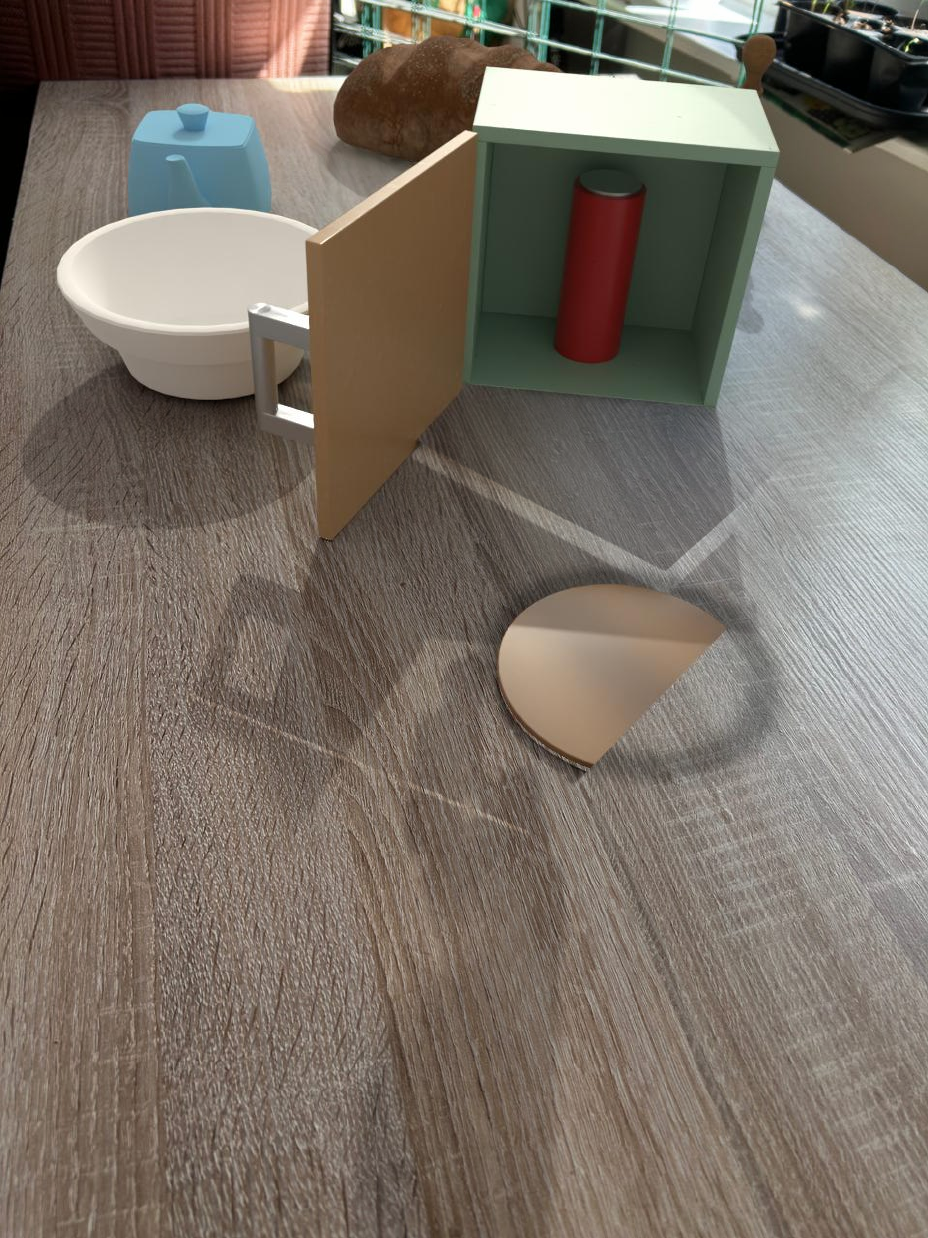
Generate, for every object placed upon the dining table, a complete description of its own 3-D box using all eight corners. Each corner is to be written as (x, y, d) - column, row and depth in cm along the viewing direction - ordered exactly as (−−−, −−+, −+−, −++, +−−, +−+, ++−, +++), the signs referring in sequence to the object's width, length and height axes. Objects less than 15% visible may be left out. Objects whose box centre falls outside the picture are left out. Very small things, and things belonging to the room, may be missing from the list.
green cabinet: (713, 417, 82) (780, 151, 69) (456, 393, 83) (472, 124, 69) (699, 337, 92) (756, 89, 78) (469, 315, 92) (486, 65, 79)
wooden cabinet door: (249, 513, 70) (219, 218, 57) (390, 377, 84) (393, 113, 70) (331, 541, 68) (321, 244, 55) (461, 398, 82) (478, 132, 69)
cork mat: (593, 561, 69) (595, 551, 68) (804, 674, 62) (807, 665, 62) (442, 684, 60) (443, 675, 59) (669, 832, 53) (672, 823, 53)
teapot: (116, 280, 93) (93, 145, 86) (155, 199, 107) (138, 76, 99) (258, 286, 94) (248, 153, 86) (280, 205, 107) (272, 83, 99)
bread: (346, 116, 128) (344, 10, 120) (590, 135, 127) (603, 29, 119) (323, 163, 116) (318, 48, 109) (590, 184, 115) (605, 70, 108)
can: (578, 324, 90) (601, 161, 81) (631, 347, 88) (661, 182, 79) (540, 346, 87) (559, 179, 78) (594, 370, 85) (621, 201, 75)
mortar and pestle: (716, 210, 113) (758, 21, 101) (765, 232, 109) (814, 39, 97) (674, 224, 109) (712, 30, 97) (723, 247, 106) (768, 49, 94)
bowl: (402, 354, 87) (404, 257, 81) (220, 470, 74) (207, 364, 68) (213, 277, 95) (203, 185, 89) (17, 370, 82) (-9, 268, 76)
